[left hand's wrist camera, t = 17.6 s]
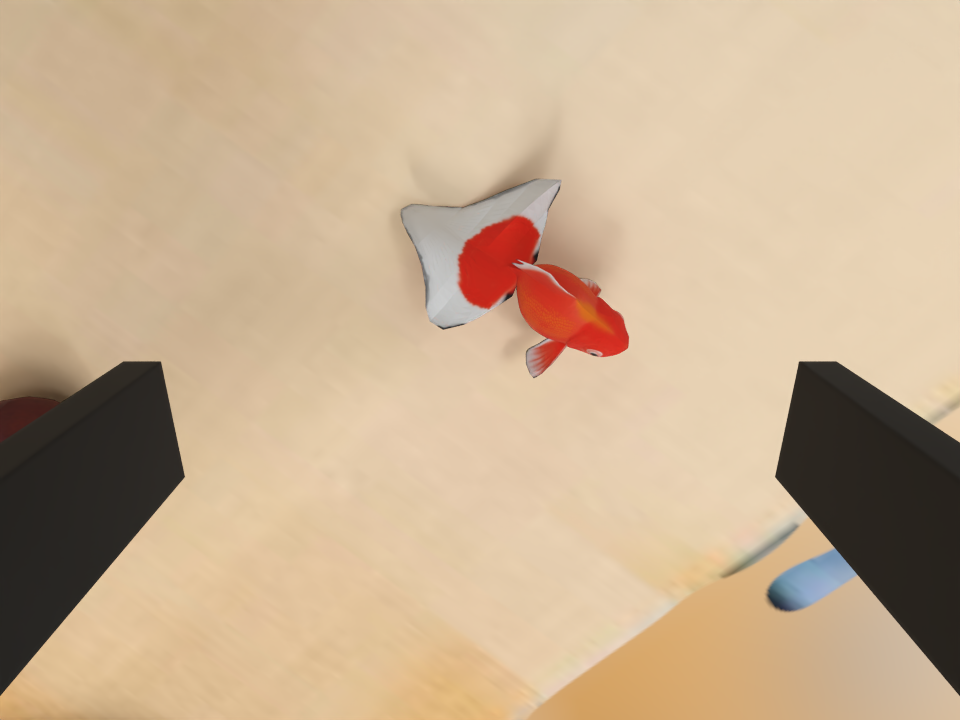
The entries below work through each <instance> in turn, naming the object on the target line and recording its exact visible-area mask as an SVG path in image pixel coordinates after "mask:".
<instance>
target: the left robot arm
mask: <svg viewBox="0 0 960 720" xmlns="http://www.w3.org/2000/svg"><path fill="white" fill-rule="evenodd" d="M184 477H185V475H184V471H183V466H182V461H181V456H180V451H179V447H178V442H177V437H176V432H175V427H174V423H173V418H172V413H171V408H170V403H169V399H168V394H167V389H166V384H165V379H164V374H163V370H162V365H161V362H122V363H121V364H119V365H118V366H116V367H115V368H113V369H111V370H110V371H108V372H107V373H105V374H104V375H102V376H101V377H99V378H98V379H96V380H95V381H93V382H92V383H90V384H89V385H87V386H86V387H84V388H83V389H81V390H80V391H78V392H77V393H75V394H73V395H72V396H70V397H69V398H67V399H66V400H64V401H63V402H61V403H60V404H58V405H57V406H55V407H54V408H52V409H51V410H49V411H48V412H46V413H45V414H43V415H42V416H40V417H39V418H37V419H35V420H34V421H32V422H31V423H29V424H28V425H26V426H25V427H23V428H22V429H20V430H19V431H17V432H16V433H14V434H13V435H11V436H10V437H8V438H7V439H5V440H4V441H2V442H1V443H0V696H1V694H2V693H3V692H4V691H5V690H6V688H7V687H8V686H9V685H10V684H11V682H12V681H13V680H14V679H15V678H16V677H17V675H18V674H19V673H20V672H21V671H22V669H23V668H24V667H25V666H26V665H27V663H28V662H29V661H30V660H31V659H32V658H33V656H34V655H35V654H36V653H37V652H38V650H39V649H40V648H41V647H42V646H43V645H44V643H45V642H46V641H47V640H48V639H49V637H50V636H51V635H52V634H53V633H54V631H55V630H56V629H57V628H58V627H59V626H60V624H61V623H62V622H63V621H64V620H65V618H66V617H67V616H68V615H69V614H70V613H71V611H72V610H73V609H74V608H75V607H76V605H77V604H78V603H79V602H80V601H81V599H82V598H83V597H84V596H85V595H86V594H87V592H88V591H89V590H90V589H91V588H92V586H93V585H94V584H95V583H96V582H97V581H98V579H99V578H100V577H101V576H102V575H103V573H104V572H105V571H106V570H107V569H108V567H109V566H110V565H111V564H112V563H113V562H114V560H115V559H116V558H117V557H118V556H119V554H120V553H121V552H122V551H123V550H124V548H125V547H126V546H127V545H128V544H129V543H130V541H131V540H132V539H133V538H134V537H135V535H136V534H137V533H138V532H139V531H140V530H141V528H142V527H143V526H144V525H145V524H146V522H147V521H148V520H149V519H150V518H151V516H152V515H153V514H154V513H155V512H156V511H157V509H158V508H159V507H160V506H161V505H162V503H163V502H164V501H165V500H166V499H167V498H168V496H169V495H170V494H171V493H172V492H173V490H174V489H175V488H176V487H177V486H178V484H179V483H180V482H181V481H182V480H183V479H184ZM775 477H776V479H777V480H778V481H779V482H780V483H781V484H782V486H783V487H784V488H785V489H786V490H787V492H788V493H789V494H790V495H791V496H792V498H793V499H794V500H795V501H796V502H797V503H798V505H799V506H800V507H801V508H802V509H803V511H804V512H805V513H806V514H807V515H808V516H809V518H810V519H811V520H812V521H813V522H814V524H815V525H816V526H817V527H818V528H819V530H820V531H821V532H822V533H823V534H824V535H825V537H826V538H827V539H828V540H829V541H830V542H831V544H832V545H833V546H834V547H835V549H836V550H837V551H838V552H839V553H840V554H841V556H842V557H843V558H844V559H845V560H846V562H847V563H848V564H849V565H850V566H851V567H852V569H853V570H854V571H855V572H856V573H857V575H858V576H859V577H860V578H861V579H862V581H863V582H864V583H865V584H866V585H867V586H868V588H869V589H870V590H871V591H872V592H873V594H874V595H875V596H876V597H877V598H878V599H879V601H880V602H881V603H882V604H883V605H884V607H885V608H886V609H887V610H888V611H889V613H890V614H891V615H892V616H893V617H894V618H895V620H896V621H897V622H898V623H899V624H900V626H901V627H902V628H903V629H904V630H905V631H906V633H907V634H908V635H909V636H910V637H911V639H912V640H913V641H914V642H915V643H916V644H917V646H918V647H919V648H920V649H921V650H922V652H923V653H924V654H925V655H926V656H927V658H928V659H929V660H930V661H931V662H932V663H933V665H934V666H935V667H936V668H937V669H938V671H939V672H940V673H941V674H942V675H943V677H944V678H945V679H946V680H947V681H948V682H949V684H950V685H951V686H952V687H953V688H954V690H955V691H956V692H957V693H958V694H959V696H960V443H959V442H958V441H956V440H955V439H953V438H952V437H950V436H949V435H947V434H946V433H944V432H943V431H941V430H940V429H938V428H937V427H935V426H934V425H932V424H931V423H929V422H928V421H926V420H925V419H923V418H921V417H920V416H918V415H917V414H915V413H914V412H912V411H911V410H909V409H908V408H906V407H905V406H903V405H902V404H900V403H899V402H897V401H896V400H894V399H893V398H891V397H890V396H888V395H887V394H885V393H883V392H882V391H880V390H879V389H877V388H876V387H874V386H873V385H871V384H870V383H868V382H867V381H865V380H864V379H862V378H861V377H859V376H858V375H856V374H855V373H853V372H852V371H850V370H849V369H847V368H845V367H844V366H842V365H841V364H839V363H838V362H799V365H798V370H797V374H796V379H795V384H794V389H793V394H792V399H791V403H790V408H789V413H788V418H787V423H786V427H785V432H784V437H783V442H782V447H781V451H780V456H779V461H778V466H777V471H776V475H775Z"/></svg>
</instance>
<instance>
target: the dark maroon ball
mask: <svg viewBox="0 0 960 720" xmlns="http://www.w3.org/2000/svg"><path fill="white" fill-rule="evenodd" d="M58 404H60V403H59V402H57V401H55V400H51V399H45V398H38V397H23V398H16V399H9V400H3V401H0V443H1V442H2V441H4V440H5V439H7V438H8V437H10V436H11V435H13V434H14V433H16V432H17V431H19V430H20V429H22V428H23V427H25V426H26V425H28V424H29V423H31V422H32V421H34V420H35V419H37V418H39V417H40V416H42V415H43V414H45V413H46V412H48V411H49V410H51V409H52V408H54V407H55V406H57V405H58Z"/></svg>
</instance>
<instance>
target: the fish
mask: <svg viewBox="0 0 960 720" xmlns="http://www.w3.org/2000/svg"><path fill="white" fill-rule="evenodd" d="M560 185H561V180H551V179H534V180H532V181H529V182H526V183H524V184H521V185H518V186H516V187H513V188H510V189H508V190H505V191H503V192H501V193H498V194H496V195H494V196H492V197H489V198H487V199H485V200H483V201H480V202H477V203H474V204H471V205H469V206H466V207H463V208H461V207H442V206H428V205H419V204H411V205H409V206H407V207H405V208H403V209H401V218H402V222H403V224H404V227H405V229H406V231H407V233H408V235H409V237H410V239H411V240H412V242H413V244H414V246H415V248H416V250H417V253H418V256H419V259H420V262H421V265H422V270H423V275H424V281H425V286H426V310H427V313H428V317H429V320H430V322H432V323H433V324H435V325H437V326H438V327H440V328H441V329H443V330H444V329H448V328H452V327H456V326H460V325H464V324H466V323H468V322H471V321H473V320H475V319H477V318H479V317H481V316H482V315H484V314H486V313H487V312H489V311H490V310H492V309H494V308H495V307H497V306H498V305H500V304H501V303H503V302H504V301H506V300H507V299H509V298H510V297H512V295H513V293H514V291H515V288H516V287H517V297H518V303H519V308H520V311H521V313H522V315H523V317H524V319H525V320H526V322H527V323H528V324H529V326H530V327H531V328H532V329H534V330H535V331H536V332H538V333H539V334H541V335H542V336H544V337H546V338H547V339H545V340H543V341H542V342H540V343H539V344H537V345H535V346H533V347H531V348H529V349H528V350H527V352H526V365H527V367H528V370H529V372H530V374H531V375H532V376H533V378H535V377H537V376H539V375H540V374H542V373H543V372H544V371H545V370H546V369H547V368H548V367H549V366H550V365H551V364H552V363H553V362H554V361H555V360H556V359H557V358H558V356H559V355H560V354H561V353H562V351H563V350H564V349H565V348H566V346H567V347H570V348H573V349H577V350H580V351H583V352H585V353H588V354H590V355H593V356H597V357H607V356H613V355H617V354H619V353H621V352H623V351H624V350H626V349H627V348H628V344H629V336H628V333H627V331H626V328H625V324H624V318H623V316H622V315H621V314H620V313H619V312H617V311H615V310H613V309H612V308H611V307H610V306H609V305H608V304H607V303H606V302H605V301H604V300H602V299H601V298H600V297H598V295H599V294H600V292H601V289H600V288H599V287H598V285H597V284H596V283H595V282H594V281H591V280H589V279H581V278H580V279H579V278H578V277H576V276H575V275H573V274H572V273H570V272H568V271H566V270H564V269H562V268H560V267H557V266H554V265H548V264H540V265H533V264H534V263H535V262H536V261H537V257H538V252H539V248H540V243H541V238H542V234H543V231H544V227H545V224H546V219H547V214H548V210H549V208H550V206H551V204H552V202H553V200H554V199H555V197H556V195H557V193H558V191H559V189H560Z"/></svg>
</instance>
